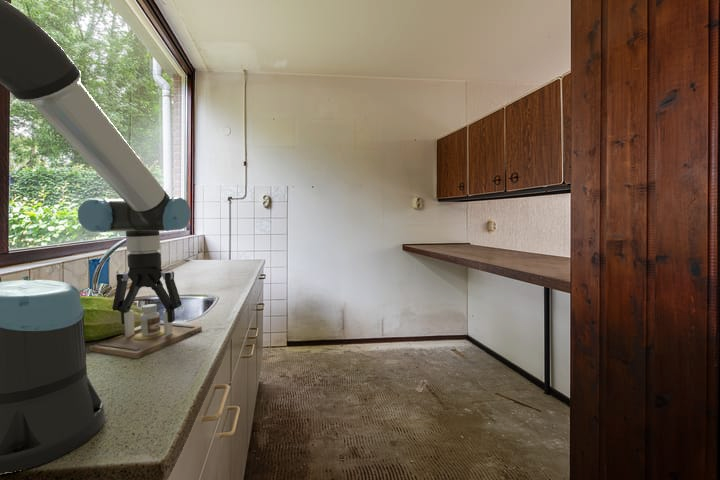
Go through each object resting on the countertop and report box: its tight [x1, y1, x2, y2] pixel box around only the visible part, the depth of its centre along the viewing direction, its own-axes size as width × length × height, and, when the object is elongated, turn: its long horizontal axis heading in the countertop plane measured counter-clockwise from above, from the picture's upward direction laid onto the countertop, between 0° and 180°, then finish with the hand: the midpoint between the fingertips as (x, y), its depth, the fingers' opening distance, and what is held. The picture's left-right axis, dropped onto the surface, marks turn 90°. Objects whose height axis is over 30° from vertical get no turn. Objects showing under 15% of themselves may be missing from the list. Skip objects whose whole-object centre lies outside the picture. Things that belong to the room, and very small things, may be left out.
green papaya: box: [80, 295, 143, 342], centre depth 94 cm, size 13×22×14 cm
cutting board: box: [89, 321, 203, 359], centre depth 92 cm, size 20×16×2 cm
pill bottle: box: [140, 303, 161, 336], centre depth 92 cm, size 4×4×8 cm
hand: (149, 334), depth 91 cm, fingers open, 9 cm apart
